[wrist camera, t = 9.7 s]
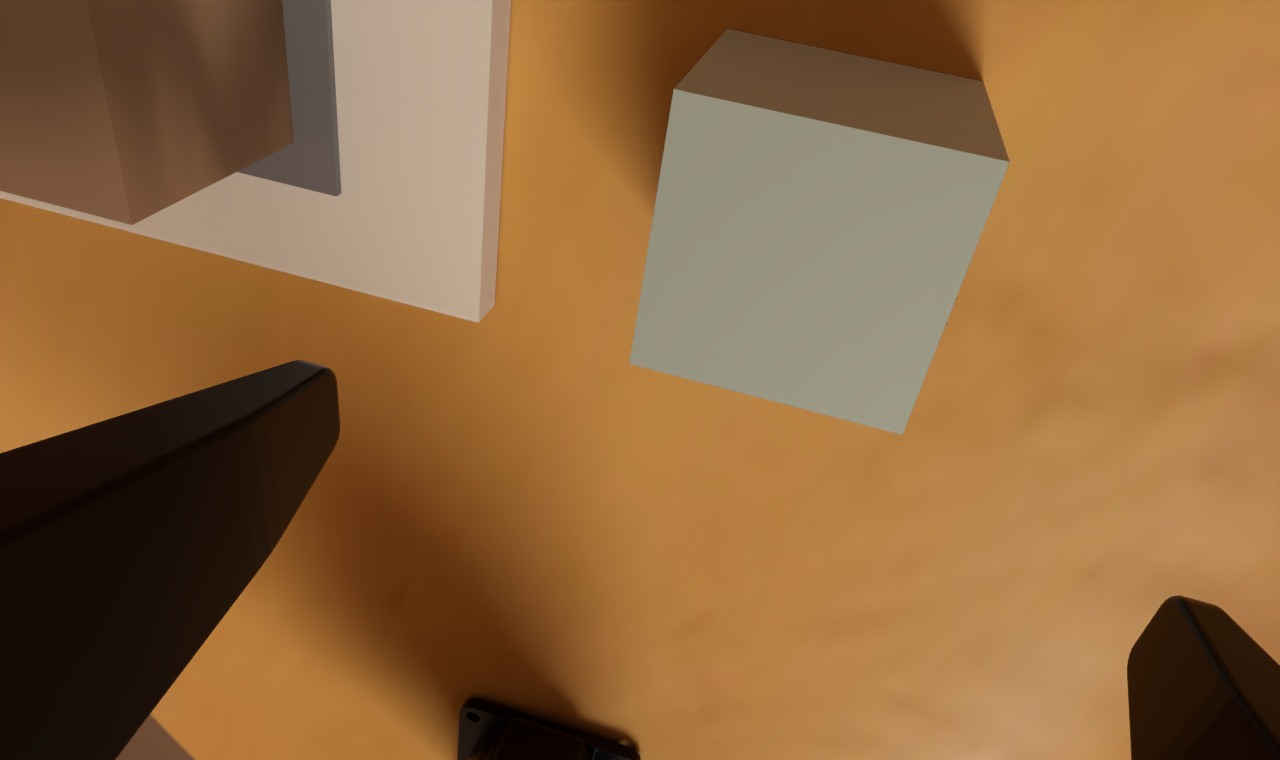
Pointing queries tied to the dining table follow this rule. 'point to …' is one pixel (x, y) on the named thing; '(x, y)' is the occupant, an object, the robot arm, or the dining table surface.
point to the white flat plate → (371, 158)
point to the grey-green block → (814, 225)
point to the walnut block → (137, 99)
